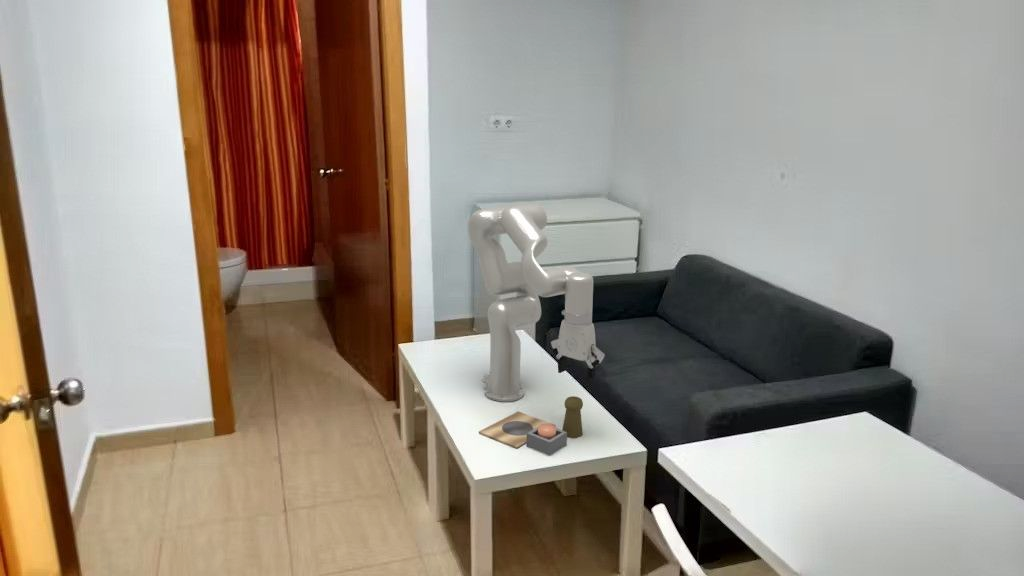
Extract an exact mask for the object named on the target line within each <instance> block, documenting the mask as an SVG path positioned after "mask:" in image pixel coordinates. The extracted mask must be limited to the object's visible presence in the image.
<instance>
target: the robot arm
mask: <svg viewBox="0 0 1024 576" xmlns="http://www.w3.org/2000/svg"><path fill="white" fill-rule="evenodd" d="M547 218H548V217H547V213H546V211H545V210H544V208H543V207H542V206H541V205H539V204H536V203H527V204H517V205H516V204H514V205H513V204H512V205H504V206H497V207H496V206H494V207H487V208H482V209H478V210H476V211H475V212H473V213H472V214H471V215H470V217H469V219H468V224H467V233H468V236H469V240H470V242H471V245H472V247H473V249H474V251H475V253H476V255H477V258H478V265H479V268H480V272H481V275H482V279H483V283H484V286H485V289H486V291H487V293H488V294H489V295H490V296H493V297H495V296H496V297H497V296H504V295H509V294H515V296H512V297H508V298H507V297H506V298H502V299H498V300H495V301H494V302H492V303H491V304H490V305H489V307H488V310H487V321H488V326H489V334H490V338H489V339H490V340H489V341H490V343H489V344H490V345H489V348H490V353H489V355H490V358H489V359H490V362H489V363H490V364H489V365H490V366H489V374H488V373H486V374H484V375H483V378H482V379H481V382H482V383H484V384H486V385H487V387H485V390H484V396H486V397H487V398H488V399H490V400H493V401H496V402H503V403H505V402H507V403H509V402H515V401H518V400H520V399H522V398H523V397H524V396H525V390H524V388H523V387H522V386H520V385H521V384H520V383H521V356H522V355H521V352H522V349H521V348H522V347H521V346H522V345H521V343H522V342H521V338H520V337H519V336H518V334H517V332H516V329H518V328H520V327H525V326H529V325H533V324H534V325H535V324H536V323H537V322H539V321H540V319H541V317H542V306H541V301H540V297H541V298H550V297H555V296H560V295H564V298H565V299H564V309H563V310H561V315H562V316H564V319H562V320H561V324H560V328H559V332H558V338H557V339H554V340H552V341H550V344H551V348H552V351H553V353H554V354H555V357H556V359H557V373H558V374H562V373H563V372H565V371H567V358H569V359H573V360H577V361H580V362H585V363H586V364H587V366H588V367H587V368H586V382H589V383H590V382H591V381H593V380H595V378H596V373H597V371H596V370H597V366H599V365H600V364H601V363H602V362H603V360H604V358H605V356H606V355H605V353H604V352H602V350H600V348H598V347H597V346H596V331H595V330H596V329H595V326H594V323H593V302H594V299H593V297H594V278H593V276H592V275H591V274H590V273H586V272H582V271H581V270H579V269H577V267H576V268H575V267H573V266H569V265H567V266H560V267H554V268H549V269H543V268H542V267H541V265H540V264H539V263H538V261H537V260H536V258H538V257H539V256H540V255H542V253H543V252H544V251H545V249H546V248H547V247H548V241H549V240H548V237H547V235H545V234H544V232H543V231H542V230H544V229H545V227H546V226H547V223H548V219H547ZM504 234H505V235H506V234H507V236H508V237H509V238H510V240H511V241H512V242H513V244H514V245H515V246H516V247H517V249H518V250H519V251H520V253H521V261H513V262H508V260H507V258H506V253H505V250H504V247H503V246H502V244H501V243H500V242H499V241H498V240H497V239H496V238H494V236H497V235H498V236H499V235H504ZM595 356H596V358H595Z"/></svg>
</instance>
